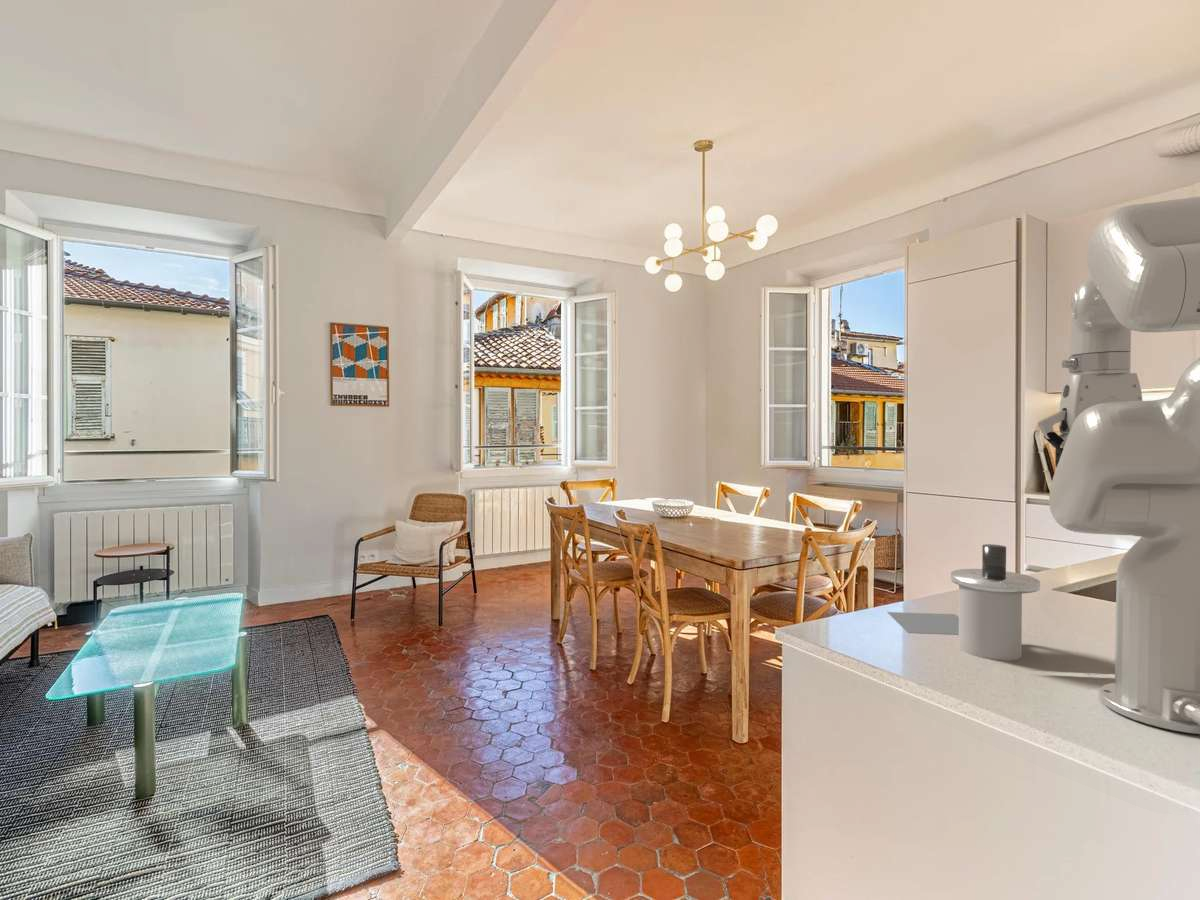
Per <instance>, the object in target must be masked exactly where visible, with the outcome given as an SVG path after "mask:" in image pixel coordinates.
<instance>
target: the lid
mask: <svg viewBox="0 0 1200 900" xmlns="http://www.w3.org/2000/svg"><path fill="white" fill-rule="evenodd" d="M981 548H982V551H981V552H982V555H981V557H982V558H981V559H982V562H981V563H982V566H981V568H963V569H961V568H960V569H957V570H953V571H951V572H950V581H951V583H954V584H956V585H958V586H959V585H960V586H964V587H967V588H971V589H976V590H982V591H989V592H998V593H1018V594H1019V593H1022V594H1032V593H1036V592H1038V591H1040V589H1041V581H1040V580H1039V579H1038V578H1036V577H1033V576H1030V575H1027V574H1023V573H1017V572H1014V571H1008V570H1007V546H1005V545H1000V544H994V543H993V544H990V543H988V544H982V547H981Z"/></svg>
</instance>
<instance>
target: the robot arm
mask: <svg viewBox="0 0 1200 900" xmlns="http://www.w3.org/2000/svg"><path fill="white" fill-rule="evenodd" d="M1087 266H1088V271H1089V273H1090V276H1091V278H1092V279H1088V280H1086V281H1084V282H1082V283H1081V284H1080V285H1079V286H1078V287H1077V288H1076V290H1075V291H1074V292H1073V294H1072V296H1071V301H1070V344H1069V345H1070V351H1069V353H1070V356H1069V357H1068V359H1063V360H1062V361H1061V367H1062V368H1063V369H1068V372H1069V374H1070V375H1066V376H1065V379H1064V382H1063V387H1062V390H1061V396H1060V402H1059V411H1058V412H1056V413H1054V414H1051V415H1049V416H1048V417H1045V418H1043V419H1042V420H1039V421H1038V422H1037V426H1038V428H1039V430H1040V432H1041V434H1043V438H1044V439H1045V440H1046V441H1047V442H1048V443H1049V444H1051V447H1052V448H1053V449H1055V451H1054V452H1055V456H1054V457H1055V459H1054V462H1055V463H1054V466H1055V471H1054V474H1053V477H1052V481H1051V484H1050V487H1049V488H1050V489H1049V494H1048V495H1049V497H1048V498H1049V499H1048V504H1049V509H1050V513H1051V516H1052V518H1053V519H1054V520H1055V522H1056V523H1057V524H1058V525H1059V526H1061V527H1062V528H1064V529H1065V530H1067V531H1071V532H1074V533H1079V534H1081V533H1082V534H1090V535H1091V534H1092V535H1111V536H1113V535H1114V536H1134V537H1139V539H1138V540H1137V541H1136V542H1135V543H1134V544H1133V545H1132V546H1131V547H1130V548H1129V549H1128V550H1126V551H1127V552H1126V553H1125V554H1124V555H1123V556H1122V557H1121V559H1120V561H1119V563H1118V566H1117V570H1116V584H1115V585H1116V587H1115V588H1116V597H1115V656H1114V657H1115V659H1114V662H1115V665H1114V666H1115V668H1114V682H1112V683H1111V682H1109V683H1106V684H1104V685H1102V686H1101V687H1099V691H1098V692H1099V699H1100V701H1101V702H1102V703H1103V704H1104V705H1105V706H1106V707H1108V709H1110V710H1112V711H1114V712H1115V713H1118V714H1119V715H1122V716H1123V717H1125V718H1129V719H1132V720H1133V721H1137V722H1140V723H1142V724H1146V725H1150V726H1154V727H1156V728H1161V729H1165V730H1170V731H1174V732H1180V733H1186V734H1194V735H1200V357H1199V358H1197V359H1196V360H1194V362H1192V363H1191V364H1190V365H1189V366H1188V367H1187V368H1186V369H1184V371H1183V372H1182V373H1181V374H1182V375H1181V376H1180V378H1179V379H1178V381H1177V384H1176V386H1175V388H1174V389H1173V391H1172V392H1171V394H1170V395H1169V396H1168V397H1166V398H1159V399H1154V400H1143V393H1142V387H1141V385H1140V384H1141V383H1140V380H1139V376H1138V374H1137V372H1131V363H1132V361H1131V360H1132V353H1131V349H1132V331H1134V332H1140V333H1172V332H1186V331H1187V332H1188V331H1200V196H1199V195H1198V196H1192V197H1185V198H1176V199H1170V200H1161V201H1156V202H1155V201H1153V202H1148V203H1147V202H1146V203H1145V202H1144V203H1139V204H1137V203H1136V204H1131V205H1126V206H1123V207H1119V208H1117V209H1115V210H1114V211H1111V212H1110V213H1108V214H1107V215H1106V216H1105V217H1103V219H1101V221H1100V222H1099V223H1098V224H1097V225H1096V227H1095V229H1093V233H1092V235H1091V237H1090V240H1089V243H1088V248H1087ZM1056 424H1058V429H1059V433H1060V434H1059V433H1058V434H1057V432H1056V431H1055V430H1054V425H1056Z"/></svg>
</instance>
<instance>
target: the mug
mask: <svg viewBox="0 0 1200 900" xmlns="http://www.w3.org/2000/svg"><path fill="white" fill-rule="evenodd" d="M1022 603H1023V593H1019V594H1018V593H998V592H989V591H982V590H976V589H971V588H967V587H964V586H960V585H958V617H959V635H958V637H957V638H958V641H957V644H958V648H959V650H961V651H962V652H964V653H966V654H968V655H971V656H974V657H977V658H982V659H986V660H987V659H988V660H993V661H994V660H995V661H1015V660H1019V659H1021V658H1022V656H1023V649H1022V648H1023V647H1022V646H1023V645H1022V644H1023V643H1022V639H1023V638H1022V636H1023V635H1022V630H1023V629H1022V626H1023V625H1022V624H1023V622H1022V617H1023V616H1022V615H1023V606H1022V605H1023V604H1022Z"/></svg>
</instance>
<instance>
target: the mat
mask: <svg viewBox="0 0 1200 900" xmlns="http://www.w3.org/2000/svg"><path fill="white" fill-rule="evenodd" d="M887 614H888V615H889V616H890V617H891V618H892V619H894V621H896V623H897V624H898V625H899V626H900V627H902V629H904V630H905V631H906V633H908V634H922V635H923V634H927V635H932V634H933V635H954V636H955V635H956V636H957V635H958V636H959V615H956V613H931V612H929V613H928V612H925V613H924V612H900V611H899V612H898V611H897V612H896V611H895V612H894V611H887Z"/></svg>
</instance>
